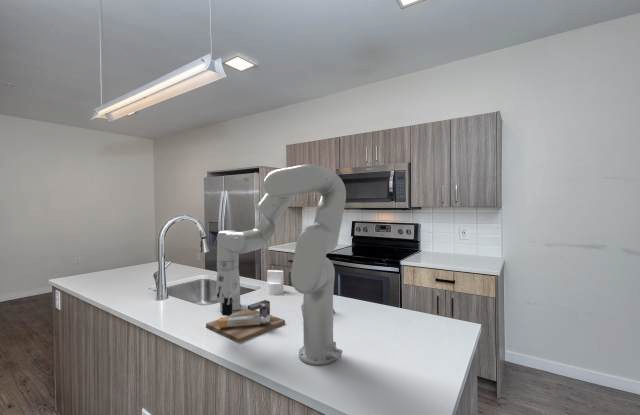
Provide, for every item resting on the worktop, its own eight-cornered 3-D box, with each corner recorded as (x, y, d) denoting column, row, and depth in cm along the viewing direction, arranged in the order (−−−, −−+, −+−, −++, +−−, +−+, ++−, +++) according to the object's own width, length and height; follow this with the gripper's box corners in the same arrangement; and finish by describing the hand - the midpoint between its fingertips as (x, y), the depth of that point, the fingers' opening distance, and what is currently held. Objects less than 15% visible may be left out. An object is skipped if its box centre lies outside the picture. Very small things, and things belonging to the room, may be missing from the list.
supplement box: (239, 304, 148) (239, 273, 148) (240, 310, 139) (240, 277, 139) (220, 306, 145) (219, 274, 145) (219, 312, 136) (219, 279, 136)
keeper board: (285, 323, 123) (284, 304, 123) (239, 343, 106) (238, 320, 106) (251, 311, 137) (251, 294, 137) (206, 327, 120) (205, 307, 120)
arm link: (270, 321, 121) (270, 302, 121) (270, 325, 117) (270, 306, 117) (220, 325, 118) (220, 305, 117) (218, 329, 113) (218, 309, 113)
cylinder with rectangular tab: (285, 290, 170) (285, 269, 170) (280, 295, 161) (280, 273, 161) (270, 289, 172) (270, 268, 172) (264, 294, 163) (264, 272, 163)
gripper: (227, 269, 102) (227, 323, 102) (246, 261, 117) (245, 308, 117) (207, 268, 103) (206, 321, 103) (227, 260, 118) (227, 306, 118)
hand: (227, 314), depth 110 cm, fingers closed
